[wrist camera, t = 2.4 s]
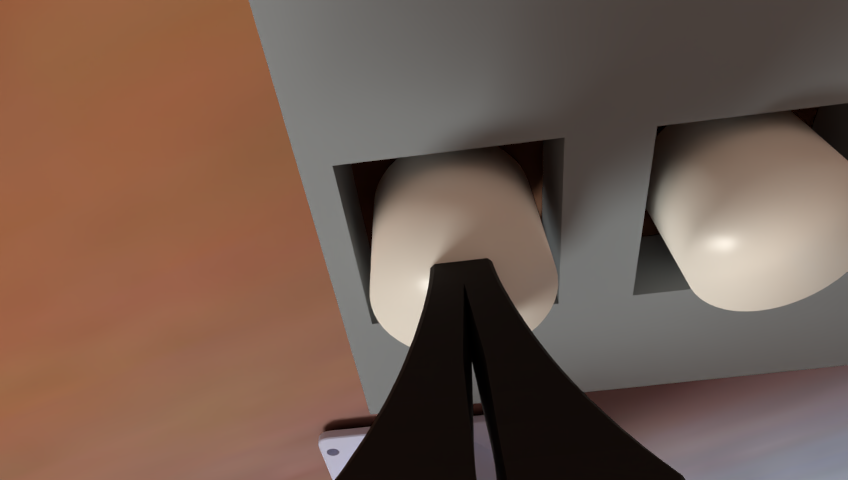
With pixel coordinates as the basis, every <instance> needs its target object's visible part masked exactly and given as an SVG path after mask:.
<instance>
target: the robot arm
mask: <svg viewBox="0 0 848 480" xmlns="http://www.w3.org/2000/svg"><path fill="white" fill-rule="evenodd" d="M472 364H473V369H474V373H475V378H476V382H477V386H478V391H479V395H480V400H481V404H482V408H483V413H484V415H478V416H473V384H472ZM318 445H319V448H320V450H321V453H322V455H323V458H324V460H325V463H326V465H327V468H328V470H329V472H330V475H331V477H332V480H685V478H684V477H683V476H682V475H681V474H680V473H678V472H677V471H676V470H674V469H673V468H671V467H670V466H669V465H667V464H666V463H665V462H663V461H662V460H660V459H659V458H658V457H657V456H655V455H654V454H653V453H651V452H650V451H649V450H648V449H646V448H645V447H644V446H642V445H641V444H640V443H639V442H638V441H636V440H635V439H634V438H633V437H632V436H630V435H629V434H628V433H627V432H626V431H624V430H623V429H622V428H621V427H620V426H619V425H618V424H616V423H615V422H614V421H613V420H612V419H611V418H610V417H609V416H608V415H607V414H606V413H604V412H603V411H602V410H601V409H600V408H599V407H598V406H597V405H596V404H595V403H594V402H593V401H591V400H590V399H589V398H588V397H587V396H586V395H585V393H584V392H583V391H582V390H581V389H580V388H579V387H578V386H577V385H576V384H575V383H574V382H573V381H572V380H571V379H570V378H569V377H568V375H567V374H566V373H565V372H564V371H563V370H562V369H561V368H560V367H559V365H558V364H557V363H556V362H555V361H554V359H553V358H552V357H551V356H550V354H549V353H548V352H547V351H546V349H545V348H544V347H543V346H542V344H541V343H540V342H539V340H538V339H537V338H536V336H535V335H534V334H533V332H532V331H531V329H530V328H529V327H528V325H527V324H526V322H525V321H524V319H523V318H522V316H521V315H520V313H519V312H518V310H517V309H516V307H515V306H514V304H513V302H512V301H511V299H510V297H509V296H508V294H507V292H506V290H505V288H504V287H503V285H502V283H501V281H500V279H499V277H498V275H497V272H496V270H495V268H494V265H493V262H492V261H491V260H489V259H488V258H483V259H474V260H466V261H457V262H448V263H439V264H434V265H433V266H432V267H431V268H430V277H429V284H428V290H427V294H426V298H425V302H424V306H423V310H422V313H421V316H420V320H419V323H418V326H417V329H416V332H415V335H414V338H413V341H412V343H411V346H410V348H409V351H408V353H407V356H406V358H405V361H404V363H403V366H402V368H401V370H400V372H399V375H398V377H397V379H396V381H395V383H394V385H393V387H392V389H391V391H390V393H389V395H388V397H387V399H386V401H385V403H384V404H383V406H382V408H381V410H380V412H379V413H378V415H377V417H376V419H375V420H374V422H373V424H372V425H371V426H370V427H361V428H351V429H341V430H331V431H326V432H323V433H322V434H321V435H320V436H319V442H318Z"/></svg>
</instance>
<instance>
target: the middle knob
mask: <svg viewBox="0 0 848 480" xmlns="http://www.w3.org/2000/svg"><path fill="white" fill-rule="evenodd" d="M645 208H646V210H647V211H648V213H649V215H650V217H651V218H652V220H653V222H654V224H655V226H656V227H657V229H658V231H659V233H660V234H661V236H662V238H663V240H664V242H665V243H666V245H667V247H668V249H669V250H670V252H671V254H672V256H673V258H674V259H675V261H676V263H677V265H678V266H679V268H680V270H681V272H682V274H683V275H684V277H685V279H686V281H687V282H688V284H689V286H690V288H691V289H692V290H693V292H694V293H695V294H696V295H697V296H698V297H699V298H700V299H702V300H703V301H705V302H707V303H708V304H710V305H713V306H715V307H718V308H722V309H725V310H732V311H760V310H767V309H773V308H777V307H781V306H784V305H788V304H791V303H794V302H796V301H799V300H802V299H804V298H806V297H808V296H810V295H813V294H815V293H817V292H818V291H820V290H822V289H824V288H825V287H827V286H829V285H830V284H832V283H833V282H835V281H836V280H838V279H839V278H840V277H841V276H843V275H844V274H845V273H846V272H848V160H846V159H845V158H844V157H843V156H842V155H841V154H840V153H839V152H837V151H836V150H835V149H834V148H833V147H832V146H831V145H829V144H828V143H827V142H826V141H825V140H824V139H823V138H821V137H820V136H819V135H818V134H817V133H816V132H815V131H814V130H812V129H811V128H810V127H809V126H808V125H807V124H806V123H804V122H803V121H802V120H801V119H800V118H799V117H798V116H796V115H795V114H794V113H793V112H792V111H791V110H787V111H779V112H770V113H762V114H754V115H746V116H738V117H729V118H721V119H713V120H705V121H696V122H688V123H680V124H672V125H667V126H666V127H665V128H664V129H663V130H662V131H661V132H660V133H659V135H658V136H657V137H656V138H655V145H654V152H653V159H652V166H651V173H650V180H649V187H648V194H647V201H646V207H645Z"/></svg>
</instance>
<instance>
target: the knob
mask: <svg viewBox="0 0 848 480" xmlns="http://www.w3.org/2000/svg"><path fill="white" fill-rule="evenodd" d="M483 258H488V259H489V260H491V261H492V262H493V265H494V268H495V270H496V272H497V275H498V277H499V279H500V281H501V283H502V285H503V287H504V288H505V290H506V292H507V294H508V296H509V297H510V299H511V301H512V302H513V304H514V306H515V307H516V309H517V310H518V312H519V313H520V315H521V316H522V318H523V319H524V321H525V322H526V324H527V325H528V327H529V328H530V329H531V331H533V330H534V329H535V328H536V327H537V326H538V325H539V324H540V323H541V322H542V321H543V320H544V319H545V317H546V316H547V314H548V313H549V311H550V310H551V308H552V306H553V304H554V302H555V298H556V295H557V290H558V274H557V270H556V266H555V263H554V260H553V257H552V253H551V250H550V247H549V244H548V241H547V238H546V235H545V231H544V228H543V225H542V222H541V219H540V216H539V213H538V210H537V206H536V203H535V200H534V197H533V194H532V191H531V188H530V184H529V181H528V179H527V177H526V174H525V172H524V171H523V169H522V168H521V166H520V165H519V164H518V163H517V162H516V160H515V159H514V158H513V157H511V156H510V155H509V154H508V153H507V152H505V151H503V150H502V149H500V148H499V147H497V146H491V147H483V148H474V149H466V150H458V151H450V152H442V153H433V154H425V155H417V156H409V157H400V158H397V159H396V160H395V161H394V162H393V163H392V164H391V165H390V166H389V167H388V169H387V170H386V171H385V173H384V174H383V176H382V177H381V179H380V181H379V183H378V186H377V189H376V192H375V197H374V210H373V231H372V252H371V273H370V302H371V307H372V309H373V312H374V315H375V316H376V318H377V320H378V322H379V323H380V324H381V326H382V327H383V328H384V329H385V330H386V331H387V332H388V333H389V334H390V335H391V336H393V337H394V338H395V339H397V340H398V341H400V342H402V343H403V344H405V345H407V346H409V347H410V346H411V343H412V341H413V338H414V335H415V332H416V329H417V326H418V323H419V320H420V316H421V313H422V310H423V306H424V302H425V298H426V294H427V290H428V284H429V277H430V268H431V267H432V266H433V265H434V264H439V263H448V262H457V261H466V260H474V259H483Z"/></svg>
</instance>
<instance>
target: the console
mask: <svg viewBox="0 0 848 480" xmlns="http://www.w3.org/2000/svg"><path fill="white" fill-rule="evenodd" d="M249 2H250V6H251V9H252V13H253V16H254V20H255V23H256V26H257V30H258V33H259V37H260V40H261V43H262V47H263V50H264V54H265V57H266V60H267V64H268V67H269V71H270V74H271V77H272V81H273V84H274V88H275V91H276V94H277V98H278V101H279V105H280V108H281V112H282V115H283V118H284V122H285V125H286V129H287V132H288V135H289V139H290V142H291V146H292V149H293V152H294V156H295V159H296V163H297V166H298V169H299V173H300V176H301V180H302V183H303V187H304V190H305V193H306V197H307V200H308V204H309V207H310V210H311V214H312V217H313V221H314V224H315V227H316V231H317V234H318V238H319V241H320V244H321V248H322V251H323V255H324V258H325V261H326V265H327V268H328V272H329V275H330V279H331V282H332V285H333V289H334V292H335V296H336V299H337V302H338V306H339V309H340V313H341V316H342V319H343V323H344V326H345V330H346V333H347V336H348V340H349V343H350V347H351V350H352V354H353V357H354V360H355V364H356V367H357V371H358V374H359V377H360V381H361V384H362V388H363V391H364V394H365V398H366V401H367V405H368V408H369V411H370V414H378V413H379V412H380V410H381V408H382V406H383V404H384V403H385V401H386V399H387V397H388V395H389V393H390V391H391V389H392V387H393V385H394V383H395V381H396V379H397V377H398V375H399V372H400V370H401V368H402V366H403V363H404V361H405V358H406V356H407V353H408V351H409V348H410V347H409V346H407V345H405V344H403V343H402V342H400V341H398V340H397V339H395V338H394V337H393V336H391V335H390V334H389V333H388V332H387V331H386V330H385V329H384V328H383V327H382V326H381V324H380V323H379V322H378V320H377V318H376V316H375V315H374V312H373V309H372V307H371V302H370V273H371V250H370V246H369V241H368V237H367V233H366V228H365V224H364V219H363V215H362V211H361V206H360V202H359V197H358V193H357V189H356V184H355V180H354V175H353V171H352V166H351V163H359V162H368V161H376V160H384V159H392V158H400V157H409V156H417V155H425V154H433V153H442V152H450V151H458V150H466V149H474V148H483V147H491V146H499V145H507V144H516V143H524V142H532V141H540V140H543V188H542V225H543V228H544V231H545V235H546V238H547V241H548V244H549V247H550V250H551V253H552V257H553V260H554V263H555V266H556V270H557V274H558V290H557V295H556V298H555V302H554V304H553V306H552V308H551V310H550V311H549V313H548V314H547V316H546V317H545V319H544V320H543V321H542V322H541V323H540V324H539V325H538V326H537V327H536V328H535V329H534V330H533V331H532V332H533V334H534V335H535V336H536V338H537V339H538V340H539V342H540V343H541V344H542V346H543V347H544V348H545V349H546V351H547V352H548V353H549V354H550V356H551V357H552V358H553V359H554V361H555V362H556V363H557V364H558V365H559V367H560V368H561V369H562V370H563V371H564V372H565V373H566V374H567V375H568V377H569V378H570V379H571V380H572V381H573V382H574V383H575V384H576V385H577V386H578V387H579V388H580V389H581V390H582V391H583V392H592V391H601V390H611V389H621V388H630V387H640V386H650V385H660V384H669V383H679V382H689V381H698V380H708V379H718V378H728V377H737V376H747V375H757V374H766V373H776V372H786V371H796V370H805V369H815V368H825V367H834V366H844V365H848V272H846V273H845V274H844V275H843V276H841V277H840V278H839V279H838V280H836V281H835V282H833V283H832V284H830V285H829V286H827V287H825V288H824V289H822V290H820V291H818V292H817V293H815V294H813V295H810V296H808V297H806V298H804V299H802V300H799V301H796V302H794V303H791V304H788V305H784V306H781V307H777V308H773V309H767V310H760V311H732V310H725V309H722V308H718V307H715V306H713V305H710V304H708V303H707V302H705V301H703V300H702V299H700V298H699V297H698V296H697V295H696V294H695V293H694V292H693V290H692V289H691V288H690V286H689V284H688V282H687V281H686V279H685V277H684V275H683V274H682V272H681V270H680V268H679V266H678V265H677V263H676V261H675V259H674V258H673V256H672V254H671V252H670V250H669V249H668V247H667V245H666V243H665V242H664V240H663V238H662V236H661V235H652V236H643V237H641V235H642V228H643V221H644V214H645V207H646V201H647V194H648V187H649V180H650V173H651V166H652V159H653V152H654V145H655V138H656V131H657V126H664V125H672V124H680V123H688V122H696V121H705V120H713V119H721V118H729V117H738V116H746V115H754V114H762V113H770V112H779V111H787V110H795V109H803V108H812V107H819V108H818V111H817V114H816V117H815V121H814V124H813V127H812V130H814V131H815V132H816V133H817V134H818V135H819V136H820V137H821V138H823V139H824V140H825V141H826V142H827V143H828V144H829V145H831V146H832V147H833V148H834V149H835V150H836V151H837V152H839V153H840V154H841V155H842V156H843V157H844V158H845V159H846V160H848V0H249ZM472 384H473V404H475V403H481V400H480V395H479V391H478V386H477V382H476V378H475V373H474V369H473V364H472Z"/></svg>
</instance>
